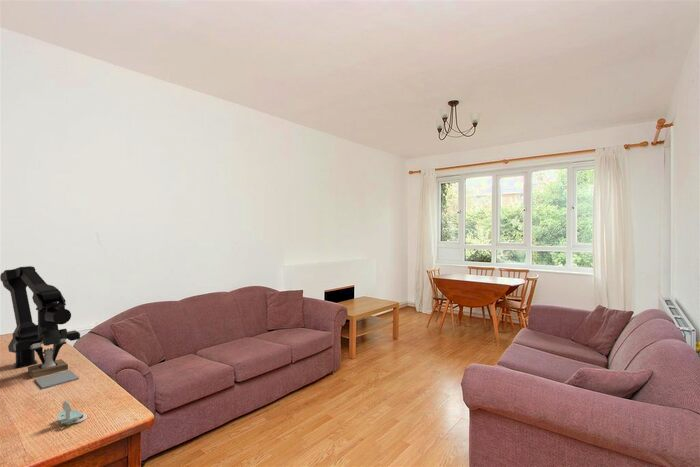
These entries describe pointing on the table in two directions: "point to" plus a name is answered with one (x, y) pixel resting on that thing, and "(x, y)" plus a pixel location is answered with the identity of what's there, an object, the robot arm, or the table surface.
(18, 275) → the robot arm
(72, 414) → the pacifier
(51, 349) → the rook chess piece
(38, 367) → the socket block
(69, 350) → the table surface
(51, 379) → the slate mat
